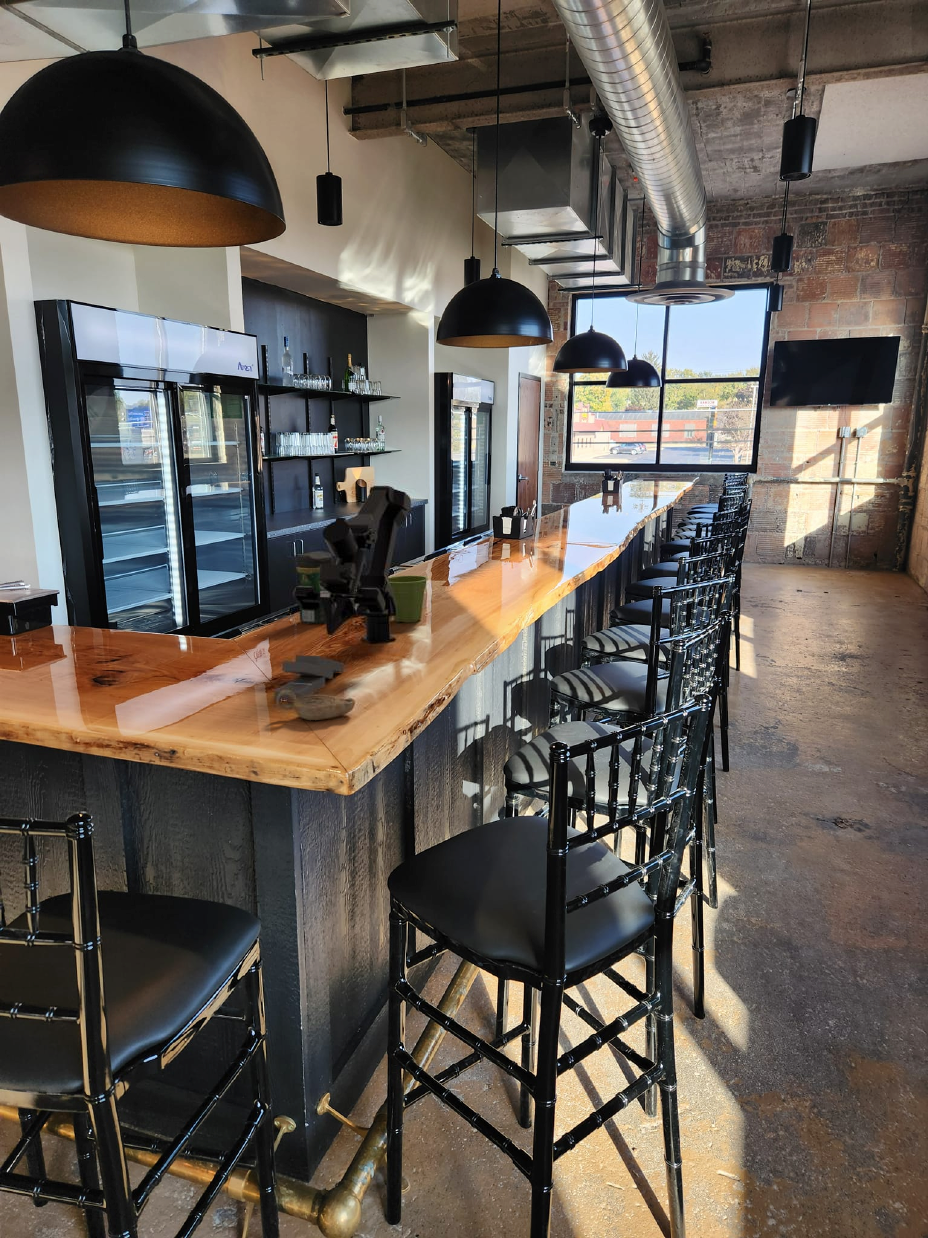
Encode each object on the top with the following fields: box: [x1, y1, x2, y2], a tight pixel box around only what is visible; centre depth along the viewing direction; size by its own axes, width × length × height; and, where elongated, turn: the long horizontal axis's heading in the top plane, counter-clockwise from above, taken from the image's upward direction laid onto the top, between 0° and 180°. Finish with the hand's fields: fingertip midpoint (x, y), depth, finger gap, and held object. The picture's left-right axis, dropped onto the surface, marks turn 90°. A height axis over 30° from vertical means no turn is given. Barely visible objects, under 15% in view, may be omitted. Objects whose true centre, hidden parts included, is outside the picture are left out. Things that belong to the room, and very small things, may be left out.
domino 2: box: [273, 675, 326, 701], centre depth 148 cm, size 2×5×11 cm
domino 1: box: [281, 660, 334, 680], centre depth 151 cm, size 2×5×11 cm
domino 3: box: [294, 654, 345, 673], centre depth 156 cm, size 2×5×11 cm
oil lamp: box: [275, 690, 356, 721], centre depth 133 cm, size 13×8×5 cm, turn 91°
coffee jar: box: [296, 550, 336, 625], centre depth 208 cm, size 10×8×19 cm
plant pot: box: [388, 575, 429, 624], centre depth 208 cm, size 12×12×11 cm
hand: (329, 633), depth 159 cm, fingers closed
